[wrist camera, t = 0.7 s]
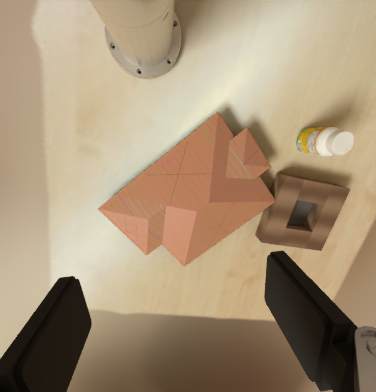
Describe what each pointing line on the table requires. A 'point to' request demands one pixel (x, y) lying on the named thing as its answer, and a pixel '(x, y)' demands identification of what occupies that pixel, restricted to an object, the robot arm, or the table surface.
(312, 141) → the supplement bottle
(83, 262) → the table surface
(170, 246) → the house
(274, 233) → the holder
